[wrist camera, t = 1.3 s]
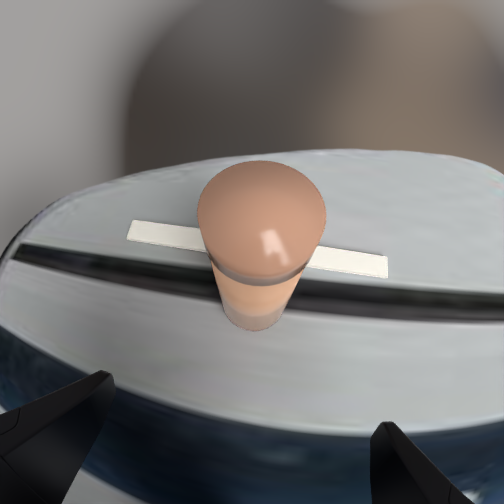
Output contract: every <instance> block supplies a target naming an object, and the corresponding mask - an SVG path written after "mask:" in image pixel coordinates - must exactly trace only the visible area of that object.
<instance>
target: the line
mask: <svg viewBox="0 0 504 504" xmlns="http://www.w3.org/2000/svg"><path fill="white" fill-rule="evenodd" d="M127 240H129V241H136V242H142V243H149V244H155V245H162V246H168V247H175V248H181V249H188V250H194V251H201V252H206V249H205V246H204V242H203V238H202V235H201V231H200V229H199V228H191V227H184V226H176V225H169V224H161V223H154V222H146V221H138V220H133V222H132V224H131V227H130V230H129V232H128V235H127ZM306 267H309V268H316V269H323V270H330V271H337V272H344V273H351V274H358V275H365V276H372V277H380V278H387V277H388V265H387V257H386V256H380V255H373V254H367V253H361V252H355V251H348V250H342V249H336V248H329V247H323V246H317V247H316V249H315V252H314V254H313V256H312V258H311V259H310V261H309V263H308V264H307V265H306Z"/></svg>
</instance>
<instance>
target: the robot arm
mask: <svg viewBox="0 0 504 504" xmlns="http://www.w3.org/2000/svg"><path fill="white" fill-rule="evenodd" d="M115 394H116V389H115V384H114V379H113V375H112V374H111V373H108V372H106V371H103V370H100V371H98V372H96V373H94V374H91V375H89V376H87V377H85V378H83V379H81V380H79V381H76V382H74V383H72V384H70V385H68V386H66V387H63V388H61V389H59V390H57V391H55V392H52V393H50V394H48V395H46V396H43V397H41V398H39V399H37V400H34V401H32V402H30V403H27V404H25V405H23V406H21V407H18V408H15V409H13V410H11V411H8V412H5V413H3V414H0V504H61V503H62V501H63V499H64V497H65V496H66V494H67V492H68V490H69V488H70V486H71V484H72V482H73V480H74V478H75V476H76V474H77V473H78V471H79V469H80V467H81V465H82V463H83V461H84V460H85V458H86V456H87V454H88V452H89V450H90V449H91V447H92V445H93V443H94V441H95V440H96V438H97V436H98V434H99V432H100V430H101V428H102V426H103V424H104V421H105V419H106V416H107V414H108V411H109V409H110V407H111V404H112V402H113V399H114V397H115ZM370 483H371V495H372V504H474V503H473V502H472V501H471V500H469V499H468V498H467V497H466V496H465V495H464V494H463V493H462V492H461V491H460V490H459V489H458V488H457V487H456V486H455V485H454V484H453V483H451V481H450V480H449V479H448V478H447V477H446V476H445V475H444V474H443V473H442V472H441V471H440V470H439V469H438V468H437V467H436V466H435V465H434V464H433V463H432V462H431V461H430V460H429V459H428V458H427V457H426V456H425V455H424V453H423V452H422V451H421V450H420V449H419V448H418V447H417V446H416V445H415V444H414V443H413V442H412V441H411V440H410V439H409V438H408V437H407V436H406V435H405V434H404V433H403V432H402V430H401V429H400V428H399V427H398V426H397V425H396V424H395V423H394V422H391V421H389V422H382V423H380V425H379V426H378V427H377V429H376V430H375V432H374V433H373V435H372V436H371V440H370Z"/></svg>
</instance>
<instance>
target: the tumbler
mask: <svg viewBox="0 0 504 504" xmlns="http://www.w3.org/2000/svg"><path fill="white" fill-rule="evenodd" d="M197 217H198V223H199V227H200V231H201V235H202V238H203V242H204V246H205V249H206V252H207V254H208V256H209V258H210V260H211V264H212V268H213V271H214V275H215V279H216V282H217V286H218V290H219V293H220V297H221V300H222V304H223V308H224V311H225V313H226V315H227V317H228V318H229V320H230V321H231V322H232V323H233V324H235V325H236V326H238V327H239V328H242V329H244V330H249V331H260V330H264V329H267V328H269V327H271V326H272V325H273V324H275V323H276V322H277V321H278V319H279V318H280V317H281V315H282V313H283V311H284V309H285V307H286V305H287V303H288V301H289V299H290V297H291V295H292V293H293V291H294V289H295V287H296V284H297V282H298V280H299V278H300V276H301V274H302V272H303V270H304V268H305V267H306V265H307V264H308V263H309V261H310V259H311V258H312V256H313V254H314V252H315V249H316V247H317V245H318V243H319V241H320V239H321V237H322V234H323V232H324V229H325V224H326V208H325V204H324V201H323V198H322V196H321V194H320V192H319V191H318V189H317V188H316V186H315V185H314V184H313V183H312V182H311V181H310V180H309V179H308V178H307V177H306V176H304V175H303V174H302V173H300V172H299V171H297V170H295V169H293V168H291V167H289V166H286V165H284V164H280V163H276V162H271V161H249V162H243V163H239V164H236V165H233V166H231V167H229V168H227V169H225V170H223V171H221V172H220V173H218V174H217V175H216V176H215V177H214V178H212V179H211V181H210V182H209V183H208V184H207V185H206V187H205V188H204V190H203V192H202V194H201V196H200V199H199V202H198V208H197Z"/></svg>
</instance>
